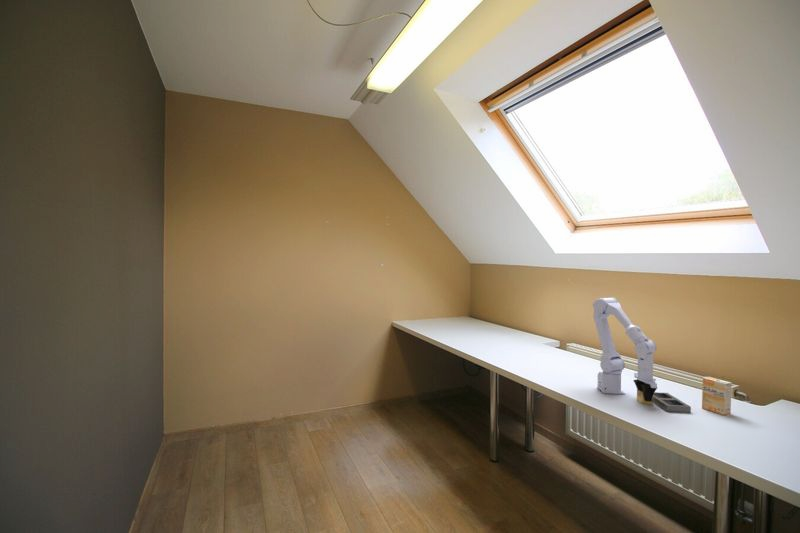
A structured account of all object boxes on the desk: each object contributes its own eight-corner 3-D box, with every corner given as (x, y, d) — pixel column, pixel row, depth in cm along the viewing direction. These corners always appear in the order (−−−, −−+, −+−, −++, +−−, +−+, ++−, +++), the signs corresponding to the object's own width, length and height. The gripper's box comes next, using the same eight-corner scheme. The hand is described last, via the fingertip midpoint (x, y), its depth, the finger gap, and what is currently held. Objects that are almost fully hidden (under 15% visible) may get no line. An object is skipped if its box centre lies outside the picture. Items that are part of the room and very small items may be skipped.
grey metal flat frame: (666, 411, 154) (667, 405, 154) (646, 397, 170) (646, 392, 170) (690, 412, 153) (690, 406, 153) (667, 398, 169) (667, 392, 169)
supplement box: (701, 408, 158) (701, 377, 158) (708, 406, 160) (708, 376, 160) (724, 416, 150) (725, 383, 150) (731, 414, 152) (732, 381, 152)
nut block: (642, 404, 163) (642, 392, 163) (636, 400, 167) (637, 388, 167) (653, 404, 162) (653, 392, 162) (647, 400, 167) (647, 389, 167)
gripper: (664, 373, 157) (664, 405, 157) (646, 363, 171) (645, 393, 172) (646, 372, 158) (646, 405, 158) (629, 363, 172) (629, 392, 172)
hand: (644, 399), depth 165 cm, fingers closed on nut block, 4 cm apart
